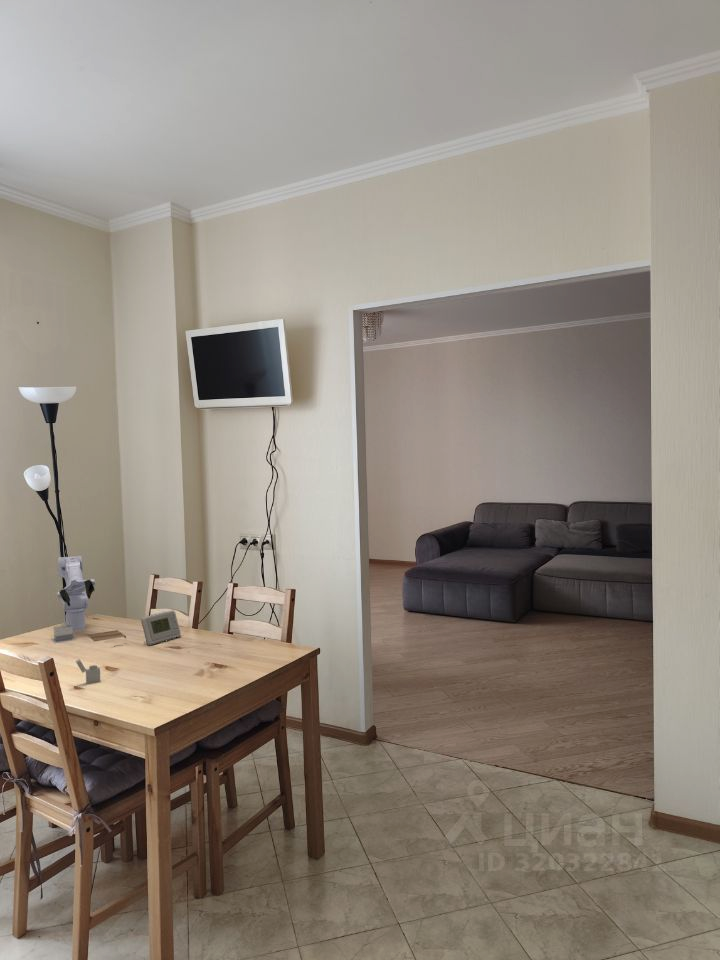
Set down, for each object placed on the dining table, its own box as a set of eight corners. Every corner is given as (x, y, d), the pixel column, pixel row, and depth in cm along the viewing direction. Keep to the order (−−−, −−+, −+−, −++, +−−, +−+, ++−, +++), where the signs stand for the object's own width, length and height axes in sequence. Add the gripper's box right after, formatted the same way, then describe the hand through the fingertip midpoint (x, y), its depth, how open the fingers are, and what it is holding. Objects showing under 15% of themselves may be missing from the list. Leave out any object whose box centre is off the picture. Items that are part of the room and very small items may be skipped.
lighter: (99, 679, 225) (98, 655, 225) (100, 681, 223) (99, 657, 223) (76, 684, 221) (75, 659, 221) (77, 685, 220) (76, 660, 219)
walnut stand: (87, 638, 276) (86, 635, 276) (117, 633, 283) (117, 630, 283) (94, 645, 267) (94, 641, 267) (126, 639, 274) (125, 636, 273)
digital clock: (147, 647, 263) (146, 619, 263) (136, 642, 269) (135, 615, 269) (185, 638, 274) (184, 612, 274) (174, 634, 281) (173, 608, 280)
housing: (54, 639, 270) (53, 627, 270) (70, 637, 274) (70, 624, 274) (56, 641, 267) (55, 629, 267) (72, 639, 271) (72, 626, 270)
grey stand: (50, 642, 272) (50, 639, 271) (72, 639, 276) (72, 635, 276) (54, 647, 265) (54, 643, 265) (76, 643, 270) (76, 639, 269)
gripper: (53, 580, 275) (55, 599, 264) (90, 566, 279) (93, 585, 268) (60, 593, 279) (62, 613, 268) (96, 580, 283) (99, 599, 272)
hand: (78, 600), depth 268 cm, fingers open, 7 cm apart
